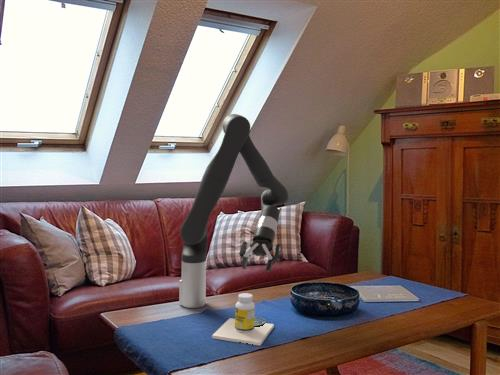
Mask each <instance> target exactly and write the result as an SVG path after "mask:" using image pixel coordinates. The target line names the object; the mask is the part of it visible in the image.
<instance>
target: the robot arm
mask: <svg viewBox="0 0 500 375" xmlns="http://www.w3.org/2000/svg"><path fill="white" fill-rule="evenodd" d="M222 131H223V133H224V135H223V138H222V141H221V144H220V146H219V149H218V150H217V152H216V153H215V155H214V156H213V158H212V159H211V160H210V162H209V164H208V165H207V166H206V168H205V171H204V173H203V176H202V178H201V180H200V183H199V186H198V189H197V192H196V194H195V196H194V201H193V204H192V206H191V208H190V210H189V212H188V214H187V216H186V218H185V220H184V221H183V222H182V224H181V227H180V231H179V235H180V238H181V240H182V242H183V243H182V244H183V245H182V252H181V279H180V280H179V282H178V284H179V295H178V297H179V298H178V300H179V304H178V305H179V306H182V307H184V308H189V309H197V308H198V309H199V308H201V307H204V306H206V301H207V299H206V297H207V296H206V295H207V294H206V292H207V290H206V289H207V288H206V286H207V285H206V284H207V280H206V279H207V276H206V275H207V252H208V226H207V225H208V222H209V218H210V216H211V214H212V211H214V208H215V207H216V205H217V204H218V202H219V200H220V199H221V197H222V195H223V193H224V191H225V188H226V187H227V184H228V182H229V180H230V176H231V174H232V171H233V169H234V166H235V164H236V161H237V159H238V155H239V154H240V155H241V156H242V159H243V160H244V162H245V164H246V166H247V168H248V171H249V172H250V174H251V175H252V177H253V180H255V182H256V184H257V186H258V187H259V188H267V189H265V190H264V191H262V193H261V196H260V206H261V207H260V208H261V210H260V211H261V212H260V214H259V219H258V220H257V223H256V227H255V230H254V233H253V238H252V241H251V242H247V241H246V240H245V241H243V242H242V245H241V248H240V250H239V253H238V254H239V257H240V258H241V259H242V262H241V267H242V269H243V270H246V269H247V267H248V262H249V260H250V259H252V258H253V257H254V256H257V257H259V256H260V257H265V256H266V258H267V263H266V266H265V271H266V272H267V273H269V272H270V271H271V270H272V267H273V264H274V263H279V261H280V257H281V256H280V255H281V250H282V248H281V245H280V244H278V243H277V244H276V245H275V244H274V242H275V237H276V234H277V227H278V222H279V219H280V210H279V209H278V207H277V206H281V205H284V204H286V203H288V202H287V201H288V200H289V193H288V190H287V188H286V187H285V186H284V185H283V184H282V183H281V181H280V180H278V179H277V177H276V176H275V175H274V173H273V172H272V170H271V169H270V167H269V165H268V163H267V161H266V160H265V159H264V157H263V156H262V154H261V153H260V151H259V150H258V148H256V146H255V144H254V142H253V141H252V138H251V136H250V133H251V122H250V121H249V120H248V119H247V118H246V117H245V116H243V115H242V114H241V115H240V114H237V113H236V114H235V113H232V114H229V115H227V116H226V117H225V118H224V120H223V122H222ZM273 250H274V256H272V255H271V252H272V251H273Z"/></svg>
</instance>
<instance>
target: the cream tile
mask: <svg viewBox="0 0 500 375" xmlns="http://www.w3.org/2000/svg"><path fill="white" fill-rule="evenodd" d="M264 323H265V324H264V325H263V326H260V327H254V330H253V331H251V332H239V331H237V330H236V329H235V318H231V317H230V318H228V319H227V320H226V321H225V322H224V323H223V324H222V325H221V326H220V327H219V328H218V329H217V330H216V331H215V332H214V333H213V334H212V335H211V338H212V339H213V340H221V341H226V342H227V341H228V342H233V343H239V342H241V343H240V344H246V343H248V345H252V344H253V346H261V345H262V344H263V343H264V341H265V340H266V338H267V337H268V335H270V333H271V331H272V330H273V329H274V327H275V324H274V323H267V322H264Z"/></svg>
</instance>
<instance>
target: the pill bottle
mask: <svg viewBox="0 0 500 375" xmlns="http://www.w3.org/2000/svg"><path fill="white" fill-rule="evenodd" d="M237 299H238V301H237V302H236V303H235V309H234V310H235V311H234V312H235V313H234V319H235V329H236V330H237V331H239V332H251V331H253V330H254V322H256V321H255V320H256V319H255V316H256V305H255V304H256V303H254V302H253V299H254V298H253V294H252V293H248V292H243V293H239V294H238V297H237Z"/></svg>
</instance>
